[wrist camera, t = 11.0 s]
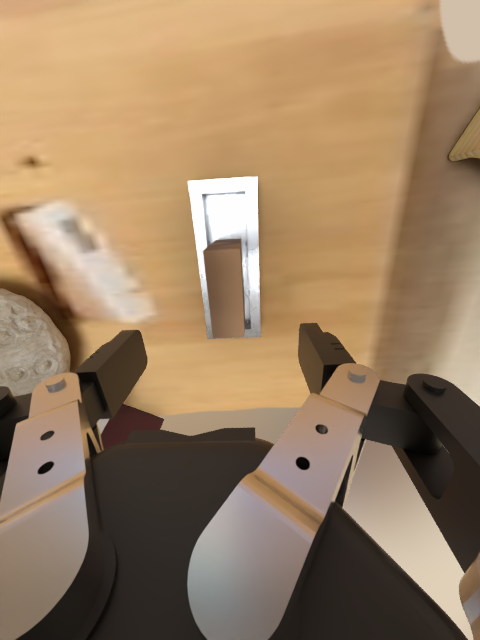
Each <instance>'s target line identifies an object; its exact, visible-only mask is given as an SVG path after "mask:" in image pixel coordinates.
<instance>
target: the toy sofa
mask: <svg viewBox="0 0 480 640" xmlns="http://www.w3.org/2000/svg"><path fill="white" fill-rule="evenodd" d="M470 157H473V158H480V109H479V110H478V112H477V113H476V115H475V116H474V118H473V119H472V121H471V122H470V124H469V125H468V127H467V128H466V130H465V131H464V133H463V134H462V136H461V137H460V139H459V140H458V142H457V143H456V145H455V146H454V148H453V149H452V151H451V152H450V154H449V160H451V161H458V160H462V159H466V158H470Z"/></svg>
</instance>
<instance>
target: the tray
mask: <svg viewBox="0 0 480 640" xmlns="http://www.w3.org/2000/svg"><path fill="white" fill-rule="evenodd" d="M188 189H189V195H190V201H191V209H192V217H193V225H194V233H195V241H196V248H197V256H198V264H199V272H200V280H201V288H202V296H203V304H204V312H205V320H206V328H207V339H224V338H213V334H212V326H211V317H210V308H209V300H208V291H207V282H206V274H205V265H204V256H203V250H205V249H206V248H207V247H208V246H209V245H210V244H212V243H213V242H214V241H215V240H220V239H237V238H241V240H242V267H243V287H244V300H245V337H234V338H248V337H261V327H260V288H259V243H258V198H257V191H258V176H255V177H239V178H224V179H209V180H194V181H188Z"/></svg>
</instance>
